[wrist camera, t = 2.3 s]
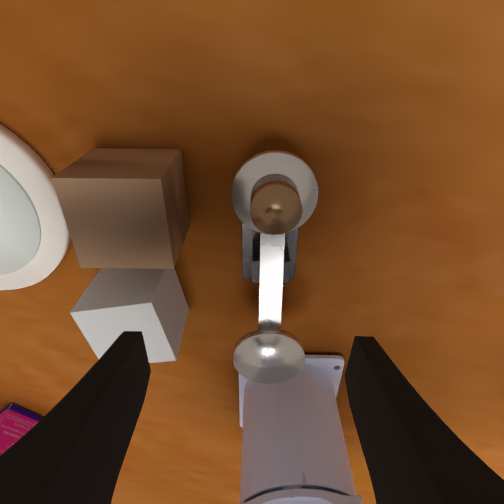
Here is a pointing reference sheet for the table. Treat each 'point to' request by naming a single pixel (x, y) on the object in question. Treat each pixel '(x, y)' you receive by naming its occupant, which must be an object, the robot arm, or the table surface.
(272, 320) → the balance
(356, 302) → the table surface
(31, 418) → the supplement box
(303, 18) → the table surface
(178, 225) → the walnut block
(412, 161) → the table surface
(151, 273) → the grey block
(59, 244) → the dish
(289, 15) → the table surface
